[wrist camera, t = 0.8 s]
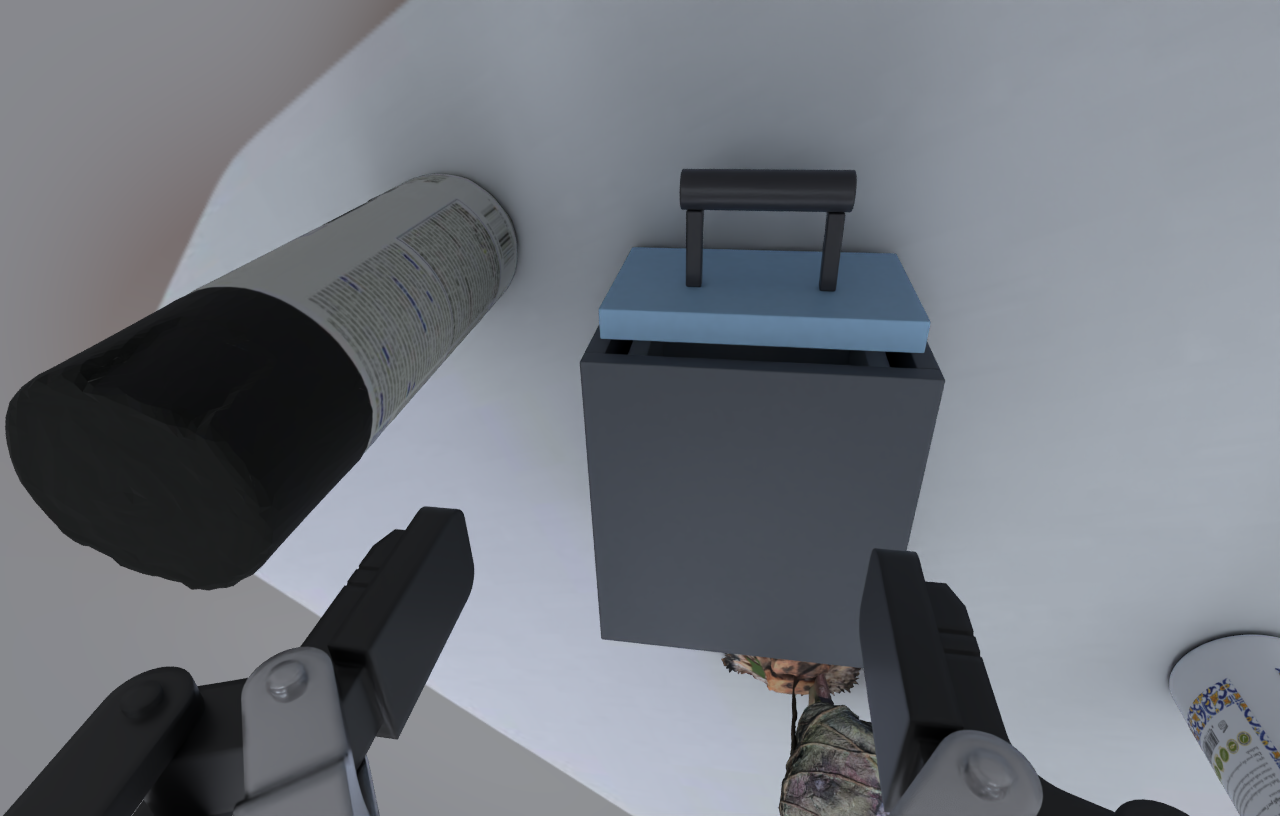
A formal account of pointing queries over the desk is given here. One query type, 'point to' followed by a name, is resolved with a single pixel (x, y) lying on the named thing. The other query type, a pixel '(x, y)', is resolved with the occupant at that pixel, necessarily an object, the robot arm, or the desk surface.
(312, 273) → the spray can
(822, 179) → the blue drawer
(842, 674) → the plant with pod
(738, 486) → the dark grey open box
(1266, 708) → the bath foam
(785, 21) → the desk surface
